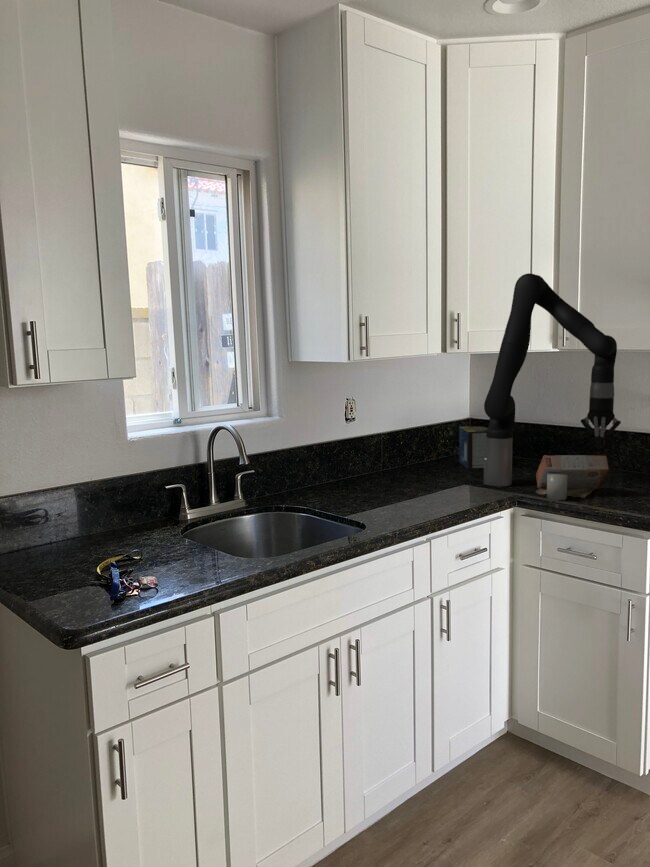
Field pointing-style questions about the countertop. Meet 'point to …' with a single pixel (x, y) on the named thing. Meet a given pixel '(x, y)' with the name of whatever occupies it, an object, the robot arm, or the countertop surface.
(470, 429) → the protein box
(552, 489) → the white rounded dome
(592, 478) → the cracker box
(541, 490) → the maple board
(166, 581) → the countertop surface
